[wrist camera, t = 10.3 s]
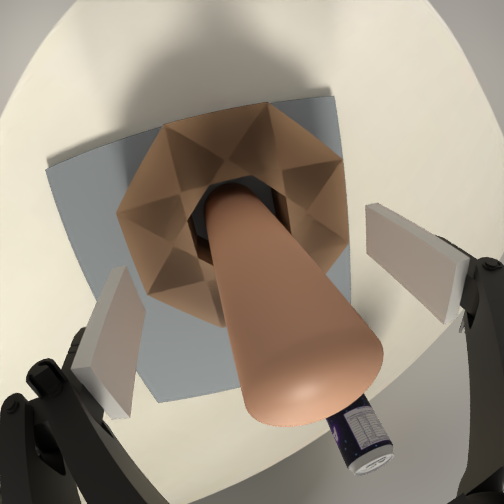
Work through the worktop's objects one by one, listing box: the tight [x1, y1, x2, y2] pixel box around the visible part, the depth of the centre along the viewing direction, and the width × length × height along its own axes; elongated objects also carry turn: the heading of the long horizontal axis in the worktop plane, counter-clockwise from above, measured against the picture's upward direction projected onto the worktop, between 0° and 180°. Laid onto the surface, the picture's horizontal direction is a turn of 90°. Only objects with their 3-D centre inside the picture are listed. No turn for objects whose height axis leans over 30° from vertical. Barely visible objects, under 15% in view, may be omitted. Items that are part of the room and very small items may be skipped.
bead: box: [116, 102, 349, 328], centre depth 20 cm, size 14×14×4 cm
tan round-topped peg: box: [204, 183, 384, 427], centre depth 14 cm, size 4×4×16 cm
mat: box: [45, 96, 351, 403], centre depth 24 cm, size 22×26×1 cm
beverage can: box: [326, 393, 394, 476], centre depth 29 cm, size 6×6×12 cm
